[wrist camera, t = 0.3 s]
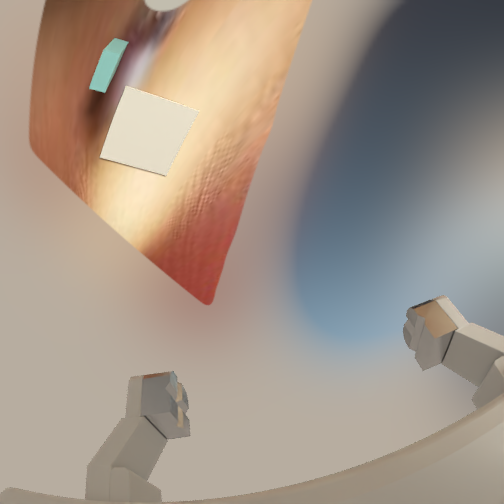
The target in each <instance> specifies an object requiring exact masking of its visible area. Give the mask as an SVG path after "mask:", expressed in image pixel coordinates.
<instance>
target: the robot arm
mask: <svg viewBox="0 0 504 504" xmlns="http://www.w3.org/2000/svg"><path fill="white" fill-rule="evenodd" d="M406 316H407V318H408V320H407V322H406V323H405V324H404V328H403V334H404V339H405V342H406V344H407V345H408V347H409V348H410V349H412V350H414V351H416V353H415V359H416V360H417V362H418V363H419V365H420V367H421V368H422V370H423V371H424V370H426V369H429V368H431V367H433V366H436V365H438V364H440V363H442V364H443V365H444V366H446V367H447V368H449V369H451V370H452V371H454V372H455V373H457V374H459V375H460V376H462V377H463V378H465V379H466V380H468V381H470V382H471V383H473V384H475V385H476V386H478V387H479V388H478V389H477V391H476V392H475V394H474V395H473V398H472V401H473V403H474V405H475V406H476V408H477V410H476V411H474V412H472V413H471V414H469V415H467V416H466V417H464V418H462V419H460V420H458V421H457V422H455V423H453V424H451V425H449V426H448V427H446V428H444V429H442V430H440V431H438V432H436V433H434V434H432V435H430V436H428V437H426V438H424V439H422V440H419V441H418V442H415V443H413V444H411V445H409V446H406V447H404V448H402V449H400V450H397V451H395V452H393V453H390V454H388V455H385V456H383V457H380V458H378V459H375V460H372V461H370V462H367V463H364V464H362V465H358V466H356V467H353V468H350V469H347V470H344V471H341V472H337V473H335V474H331V475H328V476H324V477H321V478H317V479H314V480H310V481H307V482H303V483H298V484H294V485H290V486H286V487H281V488H277V489H272V490H267V491H262V492H256V493H251V494H244V495H238V496H232V497H224V498H215V499H206V500H195V501H181V502H162V500H161V490H160V489H159V488H157V487H156V486H154V485H152V484H151V483H149V482H147V480H148V478H149V476H150V474H151V472H152V470H153V468H154V466H155V464H156V463H157V461H158V459H159V456H160V454H161V453H162V451H163V449H164V447H165V445H166V443H167V439H174V438H181V437H188V436H190V425H189V419H188V417H187V416H186V415H185V413H186V412H187V410H188V409H189V407H188V399H187V394H186V391H185V389H184V387H183V385H182V384H181V383H179V382H177V376H176V374H175V373H174V371H172V372H164V373H157V374H149V375H141V376H134V377H131V378H130V380H129V385H128V394H127V405H126V417H125V418H122V419H121V420H120V421H119V423H118V424H117V426H116V427H115V428H114V430H113V431H112V433H111V434H110V435H109V437H108V438H107V439H106V441H105V442H104V444H103V445H102V446H101V448H100V449H99V451H98V452H97V453H96V455H95V456H94V457H93V459H92V460H91V462H90V463H89V465H88V466H87V478H86V494H85V500H83V499H75V498H66V497H60V496H53V495H47V494H42V493H36V492H31V491H26V490H22V489H18V488H11V487H10V488H6V489H5V490H4V491H3V492H2V493H1V494H0V504H504V336H502V335H499V334H497V333H495V332H492V331H490V330H488V329H486V328H483V327H481V326H479V325H476V324H474V323H470V324H469V323H468V322H467V321H466V320H465V318H464V317H463V316H462V315H461V313H460V312H459V311H458V310H457V309H456V307H455V306H454V305H453V304H452V303H451V302H450V300H449V299H448V298H447V297H446V296H444V295H442V296H439V297H437V298H434V299H432V300H428V301H426V302H423V303H421V304H418V305H415V306H413V307H410V308H409V309H408V310H407V314H406Z"/></svg>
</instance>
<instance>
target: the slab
mask: <svg viewBox="0 0 504 504" xmlns="http://www.w3.org/2000/svg"><path fill="white" fill-rule="evenodd" d="M127 44H128V42H127V41H124V40H120V39H117V38H114V39H113V40H112V41H111V42H110V43H109V45H108V46H107V47H106V48H105V49H104V51H103V53H102V55H101V58H100V60H99V63H98V65H97V68H96V70H95V73H94V76H93V78H92V81H91V84H90V87H89V89H93V90H97V91H100V92H104V93H105V92H106V90H107V88H108V86H109V84H110V82H111V80H112V78H113V76H114V74H115V72H116V69H117V67H118V64H119V62H120V60H121V58H122V55H123V53H124V51H125V49H126V46H127Z"/></svg>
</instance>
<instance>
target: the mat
mask: <svg viewBox="0 0 504 504" xmlns="http://www.w3.org/2000/svg"><path fill="white" fill-rule="evenodd" d="M198 113H199V110H196V109H194V108H191V107H188V106H185V105H183V104H180V103H177V102H174V101H171V100H168V99H165V98H163V97H160V96H157V95H154V94H151V93H147V92H144V91H141V90H138V89H135V88H132V87H128V86H126V87H125V90H124V92H123V95H122V97H121V99H120V102H119V105H118V107H117V110H116V112H115V115H114V118H113V120H112V123H111V126H110V129H109V131H108V134H107V137H106V140H105V143H104V146H103V149H102V152H101V155H100V158H103V159H107V160H111V161H115V162H118V163H122V164H126V165H129V166H133V167H137V168H140V169H144V170H148V171H151V172H155V173H158V174H162V175H165V176H167V173H168V171H169V169H170V167H171V165H172V163H173V161H174V159H175V157H176V155H177V153H178V151H179V149H180V147H181V145H182V143H183V141H184V139H185V137H186V135H187V134H188V132H189V130H190V128H191V126H192V124H193V122H194V120H195V118H196V117H197V115H198Z"/></svg>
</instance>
